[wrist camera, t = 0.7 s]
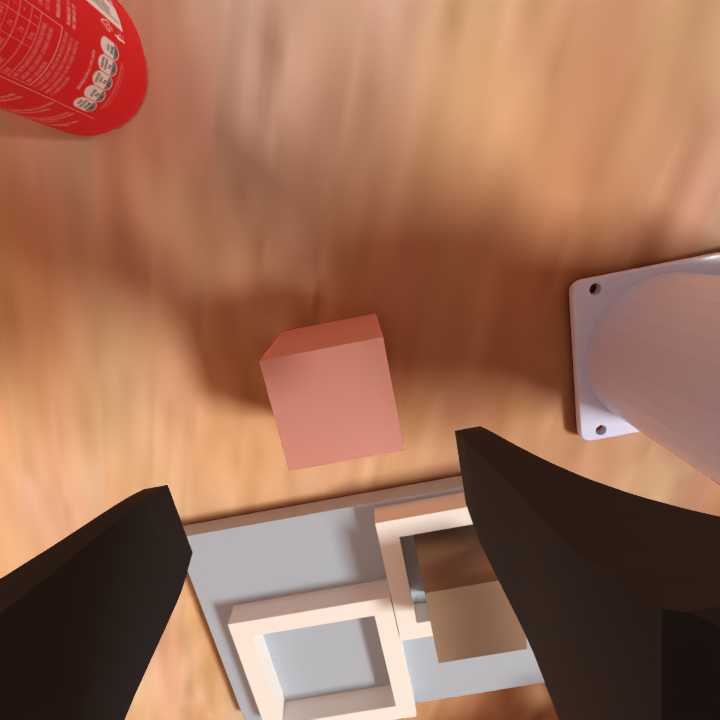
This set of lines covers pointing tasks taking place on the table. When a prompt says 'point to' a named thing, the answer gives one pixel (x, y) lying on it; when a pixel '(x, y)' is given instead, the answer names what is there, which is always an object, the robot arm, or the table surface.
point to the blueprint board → (337, 607)
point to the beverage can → (71, 64)
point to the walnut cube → (465, 597)
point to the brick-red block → (332, 392)
